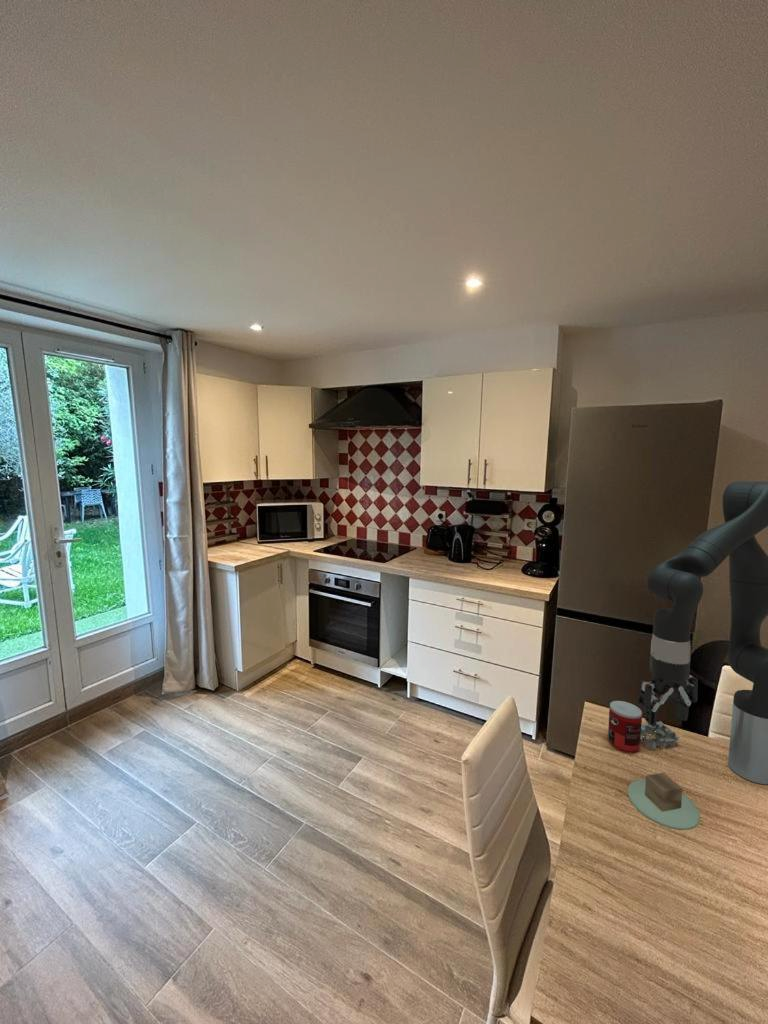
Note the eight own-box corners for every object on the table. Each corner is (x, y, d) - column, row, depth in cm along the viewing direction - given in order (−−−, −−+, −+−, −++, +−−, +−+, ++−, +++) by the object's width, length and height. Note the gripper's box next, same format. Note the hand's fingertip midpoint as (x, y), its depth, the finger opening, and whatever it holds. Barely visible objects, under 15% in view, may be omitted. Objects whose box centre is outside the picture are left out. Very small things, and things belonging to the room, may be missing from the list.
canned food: (610, 732, 124) (612, 697, 123) (641, 743, 119) (644, 707, 118) (604, 745, 118) (606, 709, 117) (637, 757, 113) (639, 719, 112)
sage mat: (662, 777, 106) (662, 775, 106) (715, 823, 92) (716, 820, 92) (614, 786, 103) (614, 784, 103) (662, 834, 90) (662, 832, 90)
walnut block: (662, 791, 101) (664, 772, 100) (681, 808, 96) (682, 788, 95) (644, 794, 100) (646, 775, 99) (662, 811, 95) (663, 791, 94)
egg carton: (647, 752, 116) (648, 738, 115) (628, 735, 123) (629, 722, 123) (682, 748, 117) (683, 734, 117) (660, 731, 125) (661, 718, 124)
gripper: (680, 644, 101) (677, 708, 102) (630, 651, 98) (627, 716, 99) (711, 658, 93) (706, 726, 95) (657, 666, 90) (654, 736, 92)
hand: (666, 721), depth 97 cm, fingers open, 8 cm apart
